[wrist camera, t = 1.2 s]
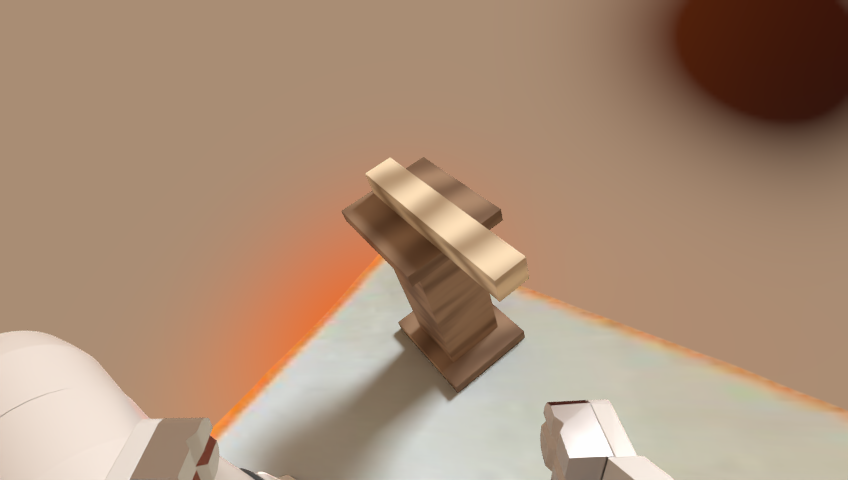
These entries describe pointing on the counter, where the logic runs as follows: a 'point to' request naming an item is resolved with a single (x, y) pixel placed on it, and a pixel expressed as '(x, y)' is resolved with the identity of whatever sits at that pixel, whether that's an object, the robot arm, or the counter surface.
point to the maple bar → (450, 229)
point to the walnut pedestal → (439, 282)
